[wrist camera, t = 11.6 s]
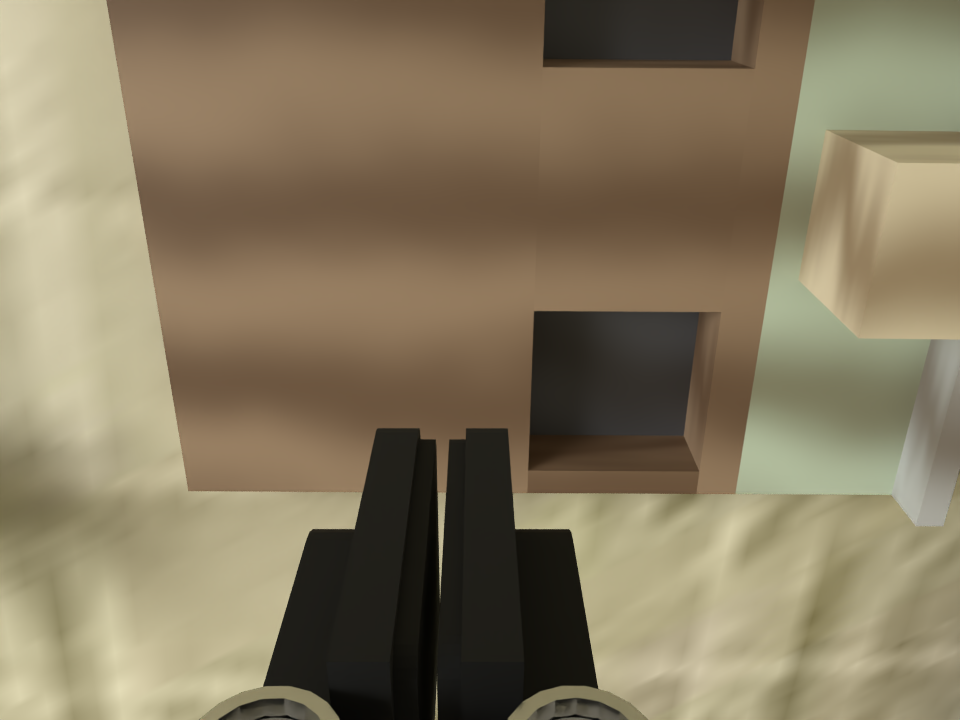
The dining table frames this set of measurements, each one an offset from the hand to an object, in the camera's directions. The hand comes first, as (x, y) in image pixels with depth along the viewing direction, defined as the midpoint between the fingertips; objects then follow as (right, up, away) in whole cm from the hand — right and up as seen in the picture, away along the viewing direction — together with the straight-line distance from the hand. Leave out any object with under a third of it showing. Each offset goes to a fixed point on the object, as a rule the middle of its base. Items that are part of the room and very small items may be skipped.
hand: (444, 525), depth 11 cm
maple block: (+14, +7, +17) cm, 23 cm away
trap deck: (+3, +9, +19) cm, 21 cm away
